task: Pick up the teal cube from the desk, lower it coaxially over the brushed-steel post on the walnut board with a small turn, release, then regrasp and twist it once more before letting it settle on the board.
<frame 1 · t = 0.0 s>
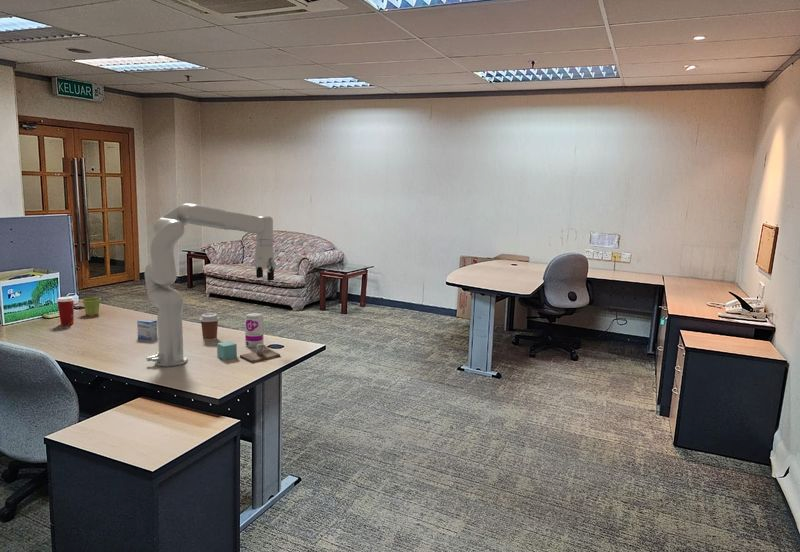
hand: (265, 278, 252), 31 cm above the table, tool pointing down, fingers open, 9 cm apart
medicine box: (147, 338, 260), on the table
coffee cup: (209, 339, 261), on the table
supplement can: (254, 345, 253), on the table
plant pot: (92, 314, 301), on the table
teal cube: (227, 356, 235), on the table
post board: (260, 356, 236), on the table
paper cup: (67, 324, 280), on the table
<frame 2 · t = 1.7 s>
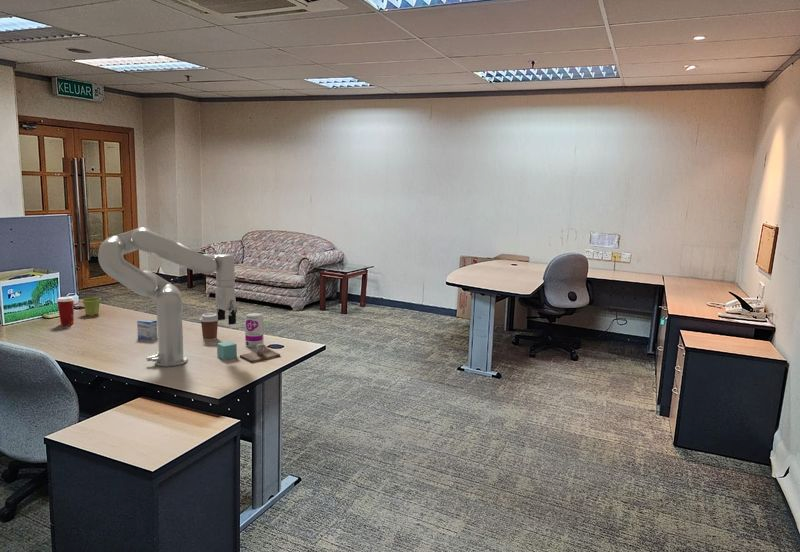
hand: (226, 321, 232), 16 cm above the table, tool pointing down, fingers open, 9 cm apart
nothing on the table moved.
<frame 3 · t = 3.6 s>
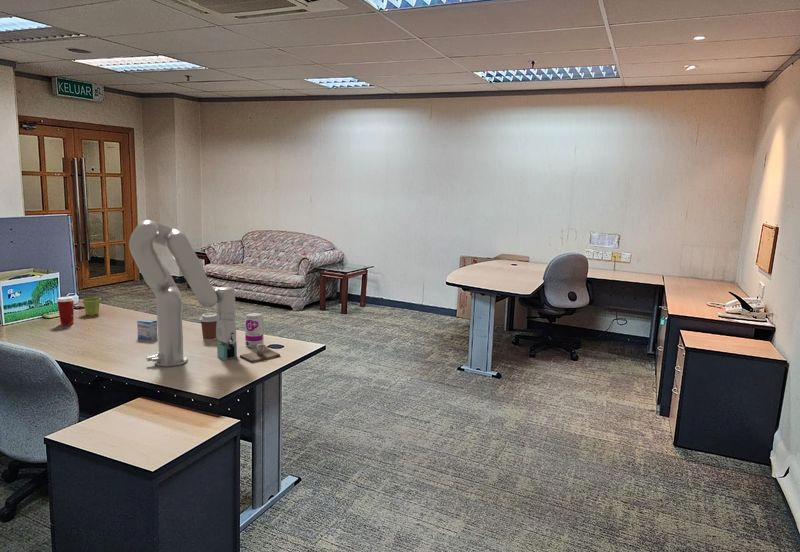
hand: (227, 355, 235), 1 cm above the table, tool pointing down, fingers closed on teal cube, 6 cm apart
teal cube: (227, 356, 235), on the table, touching gripper
everything else where it was.
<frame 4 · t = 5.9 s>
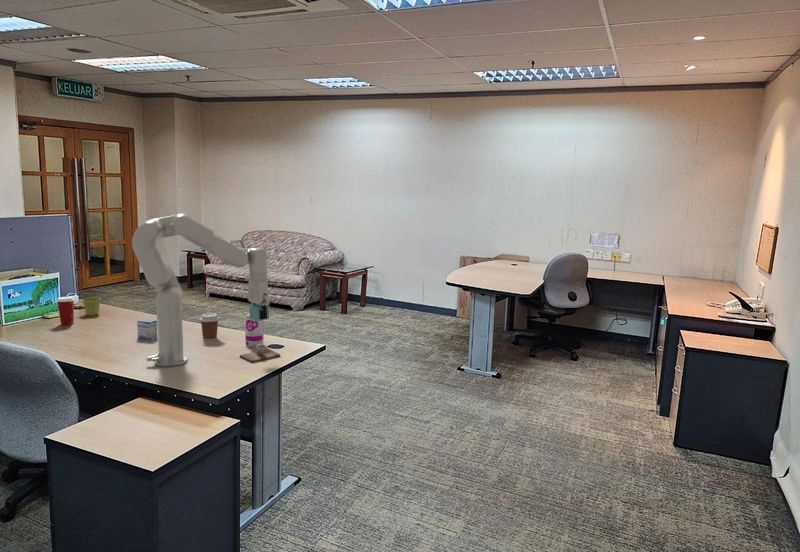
hand: (259, 317, 233), 18 cm above the table, tool pointing down, fingers closed on teal cube, 6 cm apart
teal cube: (259, 318, 234), point 17 cm above the table, touching gripper
everything else where it was.
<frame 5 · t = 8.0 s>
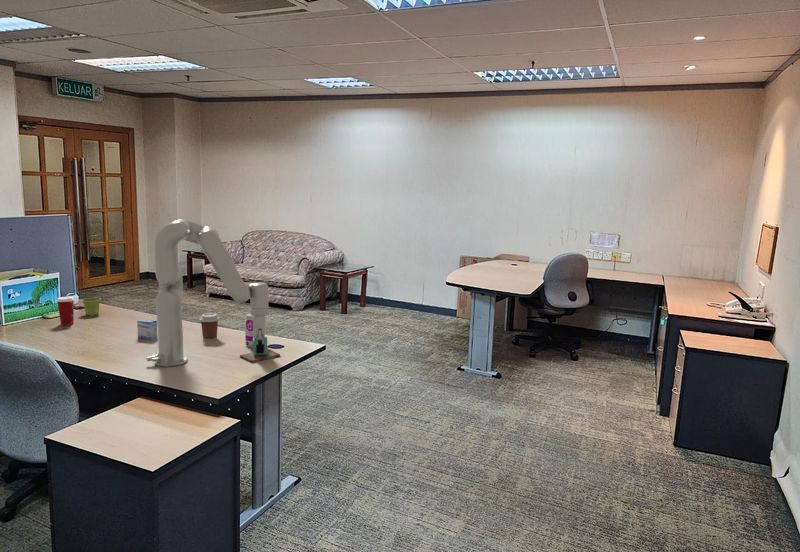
hand: (260, 350, 236), 3 cm above the table, tool pointing down, fingers closed on teal cube, 5 cm apart
teal cube: (260, 352, 236), point 2 cm above the table, touching gripper
everything else where it was.
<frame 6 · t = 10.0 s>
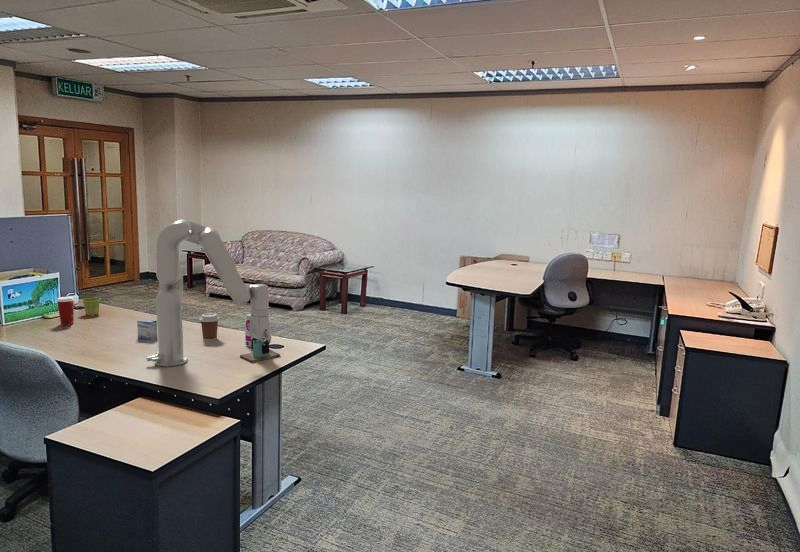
hand: (260, 350, 236), 3 cm above the table, tool pointing down, fingers closed on teal cube, 8 cm apart
teal cube: (260, 354, 236), point 1 cm above the table, touching gripper, post board
everything else where it was.
when the fingers open (4 cm above the table, at t = 11.6 s): teal cube drops 1 cm, resting on post board.
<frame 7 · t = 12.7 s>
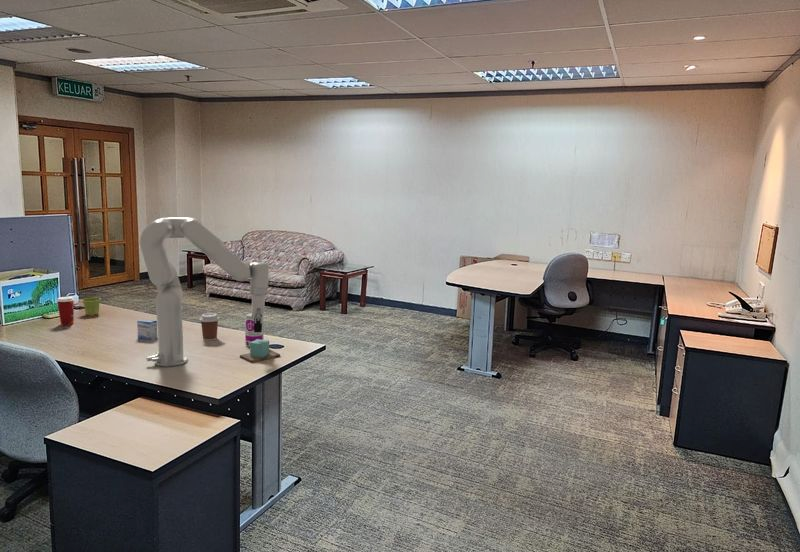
hand: (257, 329, 234), 13 cm above the table, tool pointing down, fingers open, 9 cm apart
teal cube: (259, 354, 236), point 1 cm above the table, touching post board
everything else where it was.
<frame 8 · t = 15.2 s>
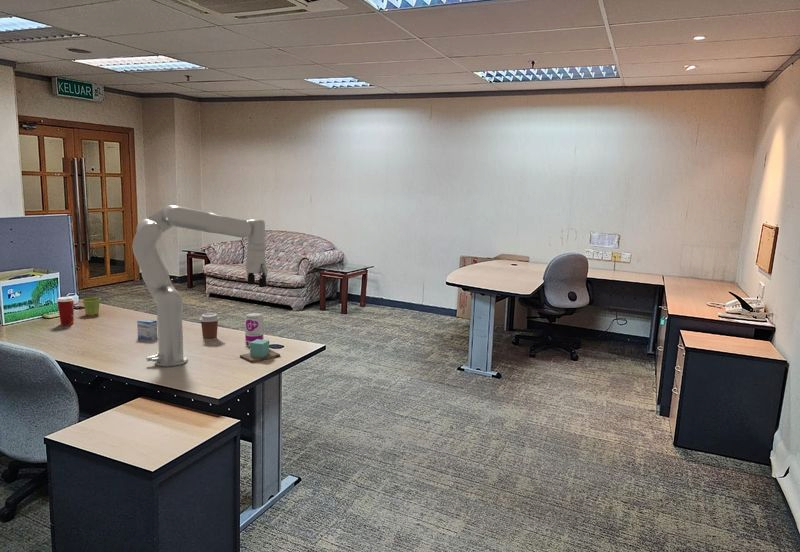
hand: (256, 285, 240), 30 cm above the table, tool pointing down, fingers open, 9 cm apart
nothing on the table moved.
at the end: teal cube 0.1 cm off-centre on the post board, point 1.0 cm above the post board's base; teal cube tilted 0°; the gripper is holding nothing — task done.
